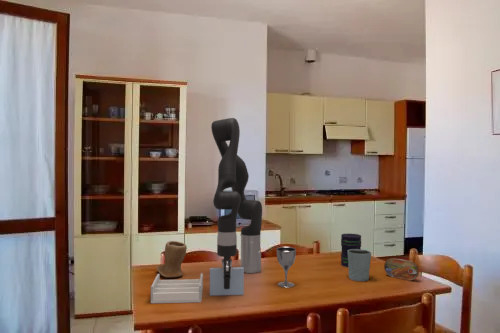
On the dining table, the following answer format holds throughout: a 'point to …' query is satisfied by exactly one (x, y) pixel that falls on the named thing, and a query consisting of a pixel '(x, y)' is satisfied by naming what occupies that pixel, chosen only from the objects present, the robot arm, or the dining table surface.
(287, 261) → the wine glass
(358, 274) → the grey tapered cup
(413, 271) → the tin
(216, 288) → the blue-grey rectangular slab
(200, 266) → the dining table surface
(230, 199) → the robot arm
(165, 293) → the dish rack
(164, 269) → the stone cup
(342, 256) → the storage jar
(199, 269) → the dining table surface
